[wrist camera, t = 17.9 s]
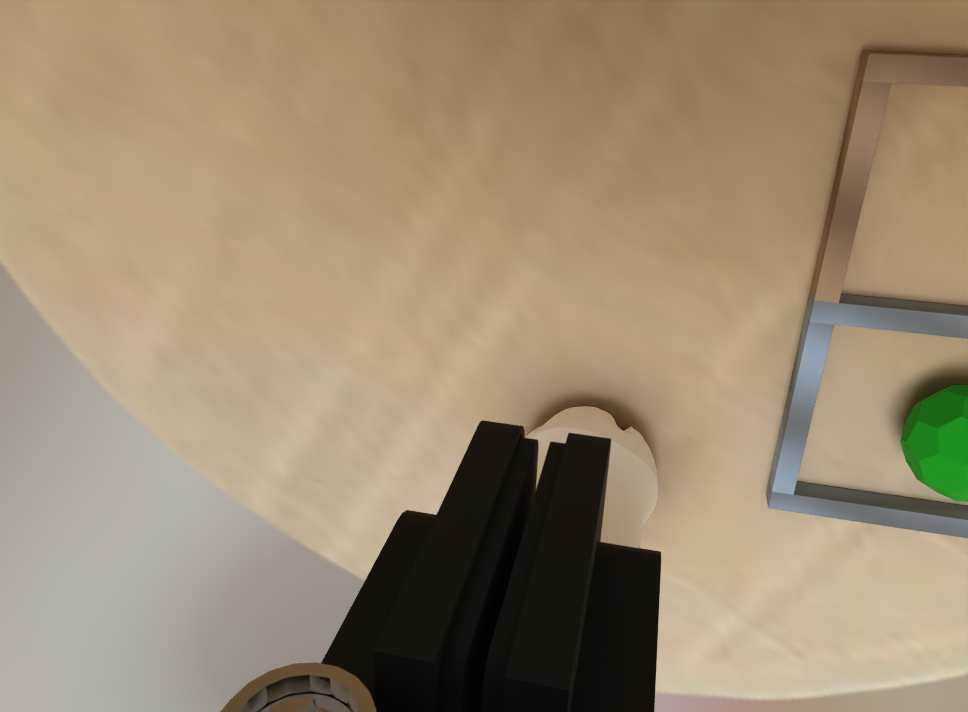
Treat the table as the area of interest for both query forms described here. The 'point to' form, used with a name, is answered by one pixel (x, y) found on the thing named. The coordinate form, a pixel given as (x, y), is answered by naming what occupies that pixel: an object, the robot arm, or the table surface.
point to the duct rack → (861, 309)
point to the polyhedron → (940, 441)
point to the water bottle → (610, 470)
